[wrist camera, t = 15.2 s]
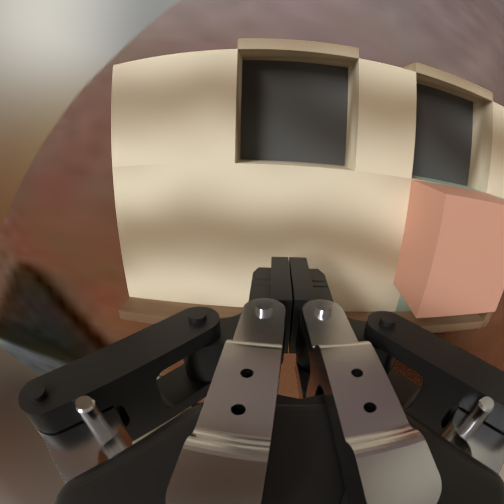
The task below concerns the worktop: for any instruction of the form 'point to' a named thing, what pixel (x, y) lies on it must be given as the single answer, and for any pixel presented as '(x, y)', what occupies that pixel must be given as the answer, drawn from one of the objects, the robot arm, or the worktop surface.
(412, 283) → the salmon pink square block
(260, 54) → the board
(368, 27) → the worktop surface
